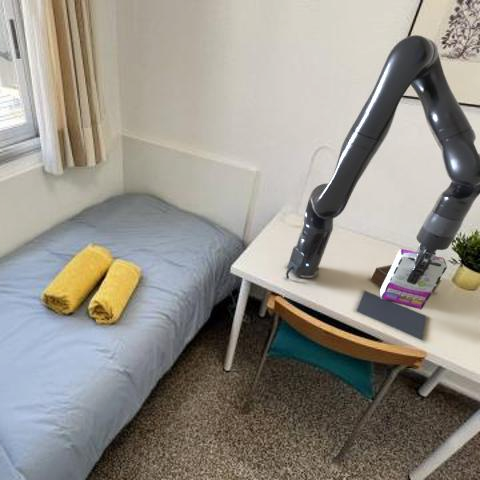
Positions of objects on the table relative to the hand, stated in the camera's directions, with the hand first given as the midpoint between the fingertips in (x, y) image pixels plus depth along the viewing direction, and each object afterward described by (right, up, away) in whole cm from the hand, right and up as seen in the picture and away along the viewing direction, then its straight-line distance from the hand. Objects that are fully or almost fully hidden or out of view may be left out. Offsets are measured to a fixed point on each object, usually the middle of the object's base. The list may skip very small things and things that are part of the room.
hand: (412, 277), depth 102 cm
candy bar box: (0, -8, +5) cm, 9 cm away
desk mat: (-1, -13, +8) cm, 15 cm away
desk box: (+11, -5, +20) cm, 23 cm away
